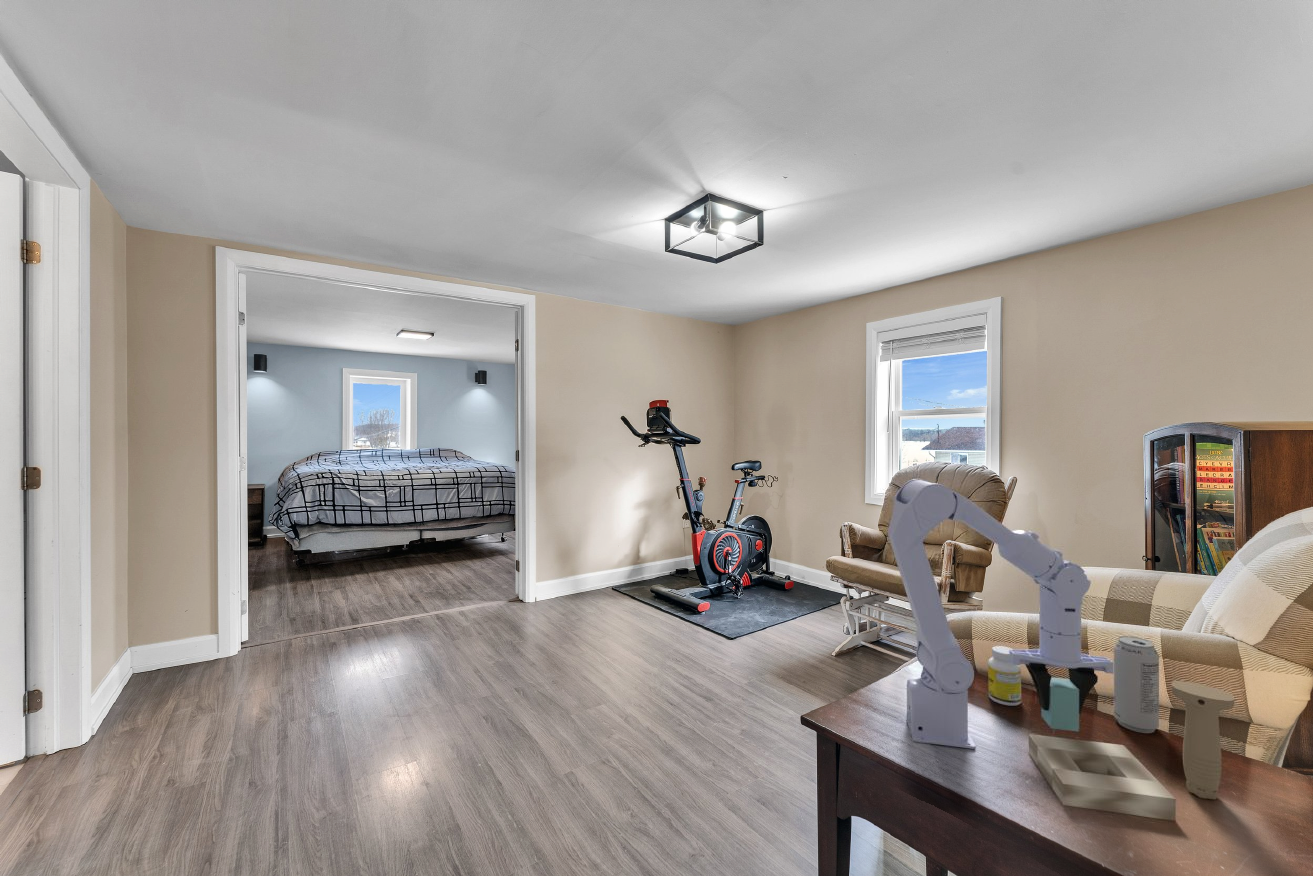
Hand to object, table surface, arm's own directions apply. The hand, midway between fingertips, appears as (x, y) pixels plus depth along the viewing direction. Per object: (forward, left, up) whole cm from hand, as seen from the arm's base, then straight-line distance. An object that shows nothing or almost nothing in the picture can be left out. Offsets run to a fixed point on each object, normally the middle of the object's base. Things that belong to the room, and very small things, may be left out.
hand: (1059, 709), depth 94 cm
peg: (0, 0, -2) cm, 2 cm away
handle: (+14, -11, -5) cm, 18 cm away
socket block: (0, -12, -5) cm, 13 cm away
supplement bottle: (-4, +13, -5) cm, 15 cm away
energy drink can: (+15, +8, -5) cm, 17 cm away
